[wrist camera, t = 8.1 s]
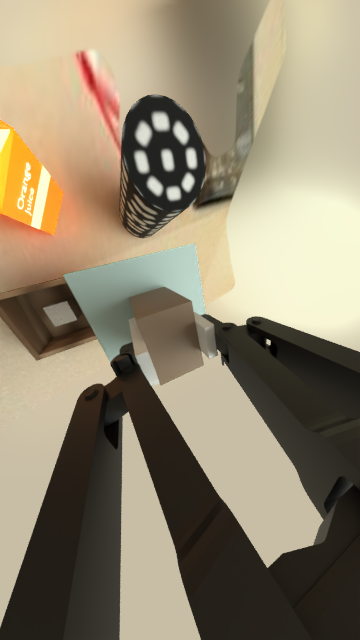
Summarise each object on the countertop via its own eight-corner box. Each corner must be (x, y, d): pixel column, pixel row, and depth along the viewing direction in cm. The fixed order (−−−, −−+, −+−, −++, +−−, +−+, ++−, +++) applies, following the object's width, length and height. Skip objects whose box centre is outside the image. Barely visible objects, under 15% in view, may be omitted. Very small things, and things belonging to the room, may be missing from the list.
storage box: (53, 340, 34) (36, 360, 27) (17, 288, 29) (-16, 297, 22) (107, 322, 37) (105, 336, 30) (83, 272, 31) (74, 275, 25)
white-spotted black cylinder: (163, 234, 35) (210, 206, 17) (128, 241, 32) (139, 218, 15) (153, 189, 31) (199, 96, 14) (112, 194, 29) (105, 92, 12)
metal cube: (61, 319, 32) (55, 326, 29) (51, 302, 31) (42, 308, 27) (81, 313, 33) (77, 319, 30) (72, 296, 32) (66, 301, 28)
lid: (119, 374, 20) (121, 438, 12) (66, 273, 14) (13, 286, 7) (205, 337, 23) (245, 372, 16) (190, 244, 17) (241, 231, 10)
